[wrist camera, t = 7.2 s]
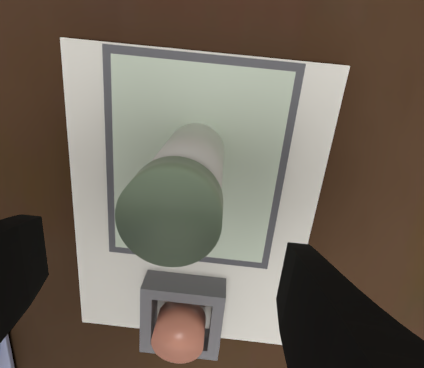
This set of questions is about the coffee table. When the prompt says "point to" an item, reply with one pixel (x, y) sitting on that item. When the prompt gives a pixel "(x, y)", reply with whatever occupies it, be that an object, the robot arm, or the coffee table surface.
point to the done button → (179, 332)
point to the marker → (175, 200)
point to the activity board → (231, 179)
